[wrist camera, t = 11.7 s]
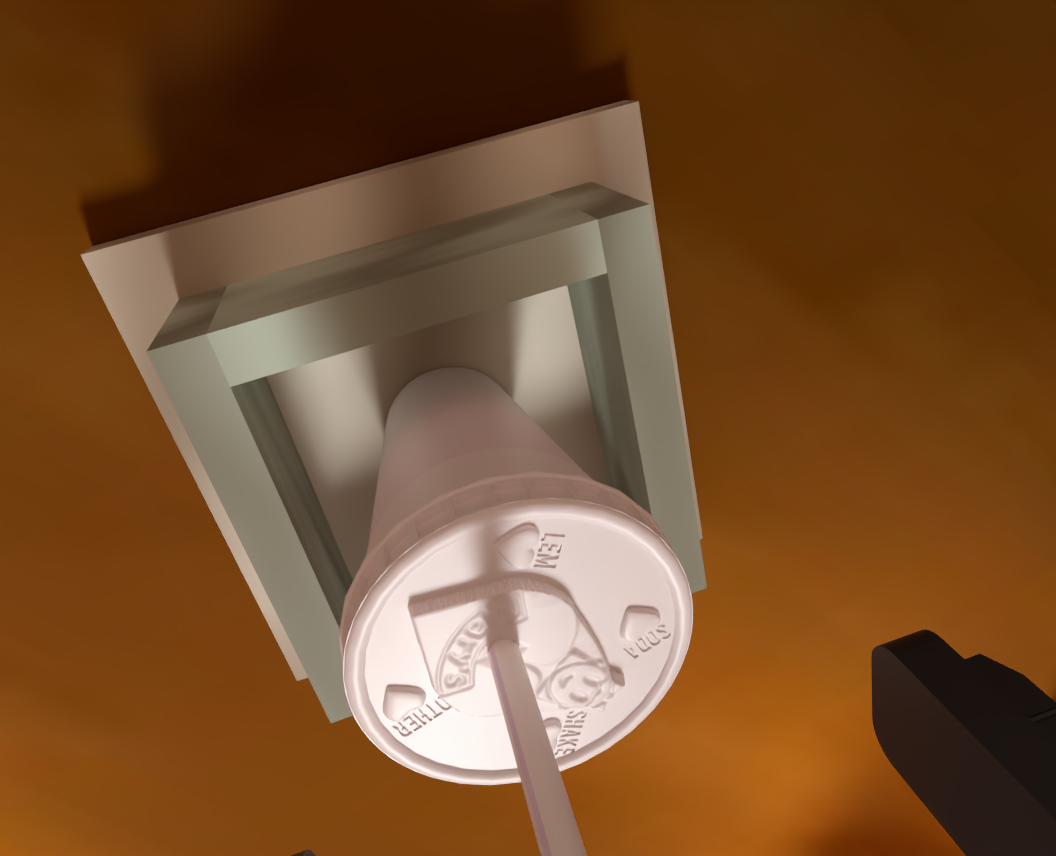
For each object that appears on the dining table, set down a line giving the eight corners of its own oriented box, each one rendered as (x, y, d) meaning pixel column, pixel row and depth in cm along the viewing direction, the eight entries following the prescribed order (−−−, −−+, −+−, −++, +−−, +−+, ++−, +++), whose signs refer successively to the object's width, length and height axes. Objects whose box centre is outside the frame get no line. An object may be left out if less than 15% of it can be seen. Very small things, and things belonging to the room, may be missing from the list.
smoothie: (416, 274, 20) (558, 615, 7) (601, 391, 22) (931, 784, 10) (292, 466, 21) (238, 1019, 9) (480, 555, 24) (638, 1074, 12)
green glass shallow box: (624, 100, 20) (709, 107, 16) (690, 523, 27) (763, 611, 22) (92, 246, 19) (21, 298, 14) (297, 659, 25) (293, 784, 21)
